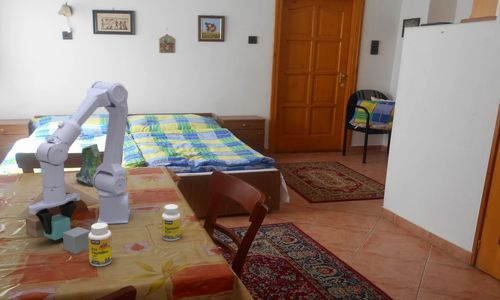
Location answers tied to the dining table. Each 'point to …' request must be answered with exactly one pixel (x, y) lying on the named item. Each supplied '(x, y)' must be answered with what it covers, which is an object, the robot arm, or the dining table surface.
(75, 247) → the slate block
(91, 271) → the dining table surface
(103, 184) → the robot arm
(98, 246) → the supplement bottle
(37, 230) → the tan cube
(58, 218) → the teal block
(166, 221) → the supplement bottle
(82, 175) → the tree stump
